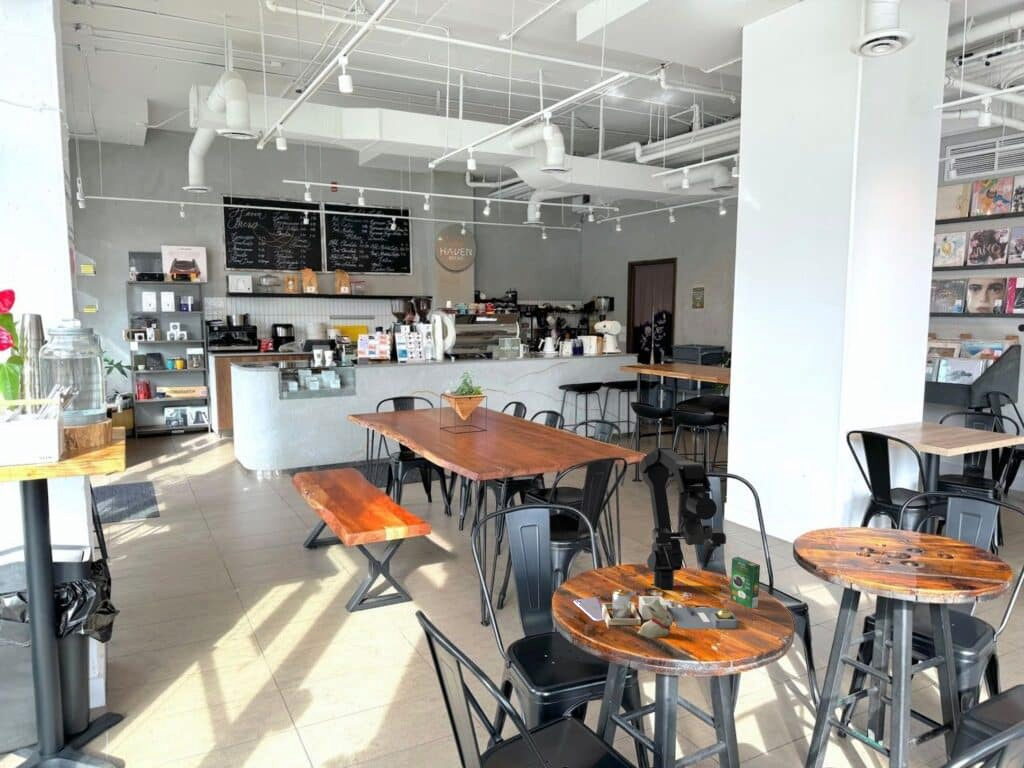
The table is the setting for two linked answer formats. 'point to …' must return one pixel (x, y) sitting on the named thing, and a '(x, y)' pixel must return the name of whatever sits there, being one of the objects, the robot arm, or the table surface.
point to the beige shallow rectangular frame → (620, 621)
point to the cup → (647, 600)
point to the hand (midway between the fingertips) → (687, 567)
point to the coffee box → (745, 582)
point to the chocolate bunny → (657, 621)
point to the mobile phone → (591, 608)
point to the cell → (621, 604)
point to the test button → (724, 613)
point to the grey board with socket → (701, 618)
